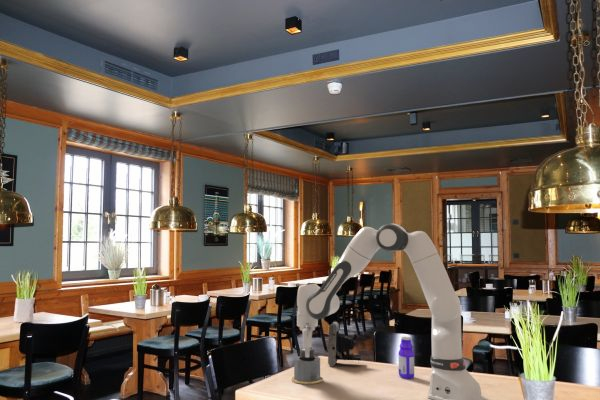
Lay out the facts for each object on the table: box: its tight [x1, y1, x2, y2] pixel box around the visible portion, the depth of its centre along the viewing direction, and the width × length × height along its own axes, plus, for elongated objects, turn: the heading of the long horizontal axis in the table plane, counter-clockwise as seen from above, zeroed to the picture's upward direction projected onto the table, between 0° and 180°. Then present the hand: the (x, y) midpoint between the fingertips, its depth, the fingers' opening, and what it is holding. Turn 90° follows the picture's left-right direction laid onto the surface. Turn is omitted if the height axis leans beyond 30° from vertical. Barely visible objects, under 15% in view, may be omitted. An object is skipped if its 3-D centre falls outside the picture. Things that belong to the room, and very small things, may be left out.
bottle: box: [398, 335, 415, 380], centre depth 224 cm, size 7×6×17 cm
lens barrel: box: [291, 355, 324, 385], centre depth 218 cm, size 13×13×9 cm
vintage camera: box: [327, 320, 363, 367], centre depth 247 cm, size 10×16×20 cm, turn 79°
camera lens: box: [299, 348, 315, 360], centre depth 219 cm, size 6×6×4 cm
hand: (307, 355), depth 219 cm, fingers closed on camera lens, 6 cm apart
